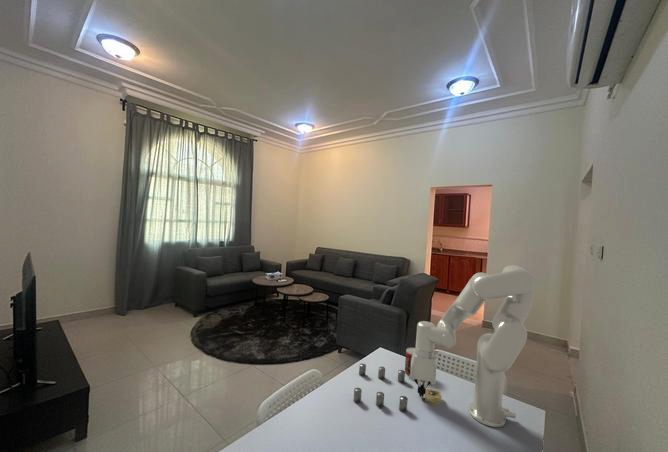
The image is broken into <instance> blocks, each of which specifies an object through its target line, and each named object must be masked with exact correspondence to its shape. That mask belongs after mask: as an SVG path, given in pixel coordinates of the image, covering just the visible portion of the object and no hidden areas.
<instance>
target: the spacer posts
mask: <svg viewBox="0 0 668 452" xmlns="http://www.w3.org/2000/svg"><path fill="white" fill-rule="evenodd" d="M358 367H359V368H358V369H359V370H358V375H359V376H360V377H365V376H366V371H367V368H366V367H367V364H366V363H359V366H358ZM385 375H386V368H385V367H384V366H379V367H378V373H377V379H379V380H383V381H384V380H385V378H386V377H385ZM405 380H406V373H405V370H403V369H399V370H398V374H397V382H398V383H399V384H404V383H405ZM362 390H363V389H362V388H360V387H354V389H353V402H354V403H355V404H360V403H361V402H362V393H363V392H362ZM398 402H399V404H398V405H399V406H398V410H399V411H400V412H402V413H407V411H408V397H407V396H405V395H401V396H399V401H398ZM384 404H385V393H384V392H382V391H377V392H376V397H375V406H376V407H377V408H380V409H382V408H384V406H385V405H384Z"/></svg>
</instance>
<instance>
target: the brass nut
mask: <svg viewBox="0 0 668 452" xmlns="http://www.w3.org/2000/svg"><path fill="white" fill-rule="evenodd" d="M424 399H425V401H426V402H428V403H429V404H432V405H433V406H435V405H440V404H442V394H441V391H439V390H436V389H435V388H433V387H431V388H430V387H429V388H426V392H425V394H424Z"/></svg>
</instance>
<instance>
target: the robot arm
mask: <svg viewBox="0 0 668 452" xmlns="http://www.w3.org/2000/svg"><path fill="white" fill-rule="evenodd" d="M535 282H536V281H535V278H534V276H533V274H532V273H531V272H530V271H528V270H527V269H525V268H524V267H521V266H519V265H516V264H511V265H507V266H505V267H504V268H503V269H502V271H501V272H498V273H495V274H494V273H493V274H488V273H486V272H479V271H478V272H477V273H475V274H473V275H472V277H470V279H469V280H468V282H467V283H466V285H465V287H464V288H463V289H462V290H461V292H460V293H459V295H458V296H457V298H456V299H455V300H454V302H453V303H452V304H451V305H450V306H449V307H448V309H446V311H445V313H444V314H443V315H442V317H441V318H440V320H439V321H438V323H437V325H435V324H434V323H433V322H430V321H425V320H421V321H419V322H417V325H416V336H415V337H416V339H415V347H414V348H415V352H413V355H412V359H411V366H410V376H409V375H408V376H409V377H408V379H409V380H410V381H413V382H415V384H416V385H417V393H418V396H419V398H425V392H426V389H428V387H429V386H430V385H436V384H437V381H436V379H437V360H436V356H438V355H439V352H438V351H437V350H435V347H436V346H435V345H437V346H439V347H441V348H446V349H450V348H452V347H454V346H455V345H456V343H457V335H456V332H457V331H458V329H459V327H460V326H461V324H463V322H464V321H465V320H467V318H470V317H473V316H475V315H476V314H477V313H478V311H479V310H480V309H481V307H482V305H483V304H484V303H485V301H486V300H493V299H495V300H496V299H501V298H504V300H503V303H502V304H501V306H500V307H499V308H498V310H497V312H496V314H495V315H494V317H493V319H492V321H491V322H492V324H491V325H492V327H493V330H494V331H493V333H490V332H489V333H484V334H482V335H481V336H480V337H478V341H477V344H476V345H477V346H476V367H475V379H474V380H475V382H474V391H473V392H474V395H473V402H472V403H470V404H469V405H468V412H469V414H470V415H471V417H472V418H474V419H475V420H476V421H478V422H479V423H481V424H483V425H486V426H489V427H491V428H493V427H494V428H502V427H504V426H505V424H506V418H510V419H516V418H517V417H516V413H515V412H514V411H513V412H512V411H510V409H509V408H507V407H503V405H502V404H503V396H504V385H505V384H504V383H505V376H506V375H505V373H506V371H508V370H509V369H510V368H511V367H512V366H513V364H514V362H515V361H516V360H517V357H518V356H519V355H520V353H521V351H522V350H523V348H524V346H525V345H526V342H527V339H528V330H527V328H526V326H525V325H524V323H525V321H526V319H527V317H528V315H529V313H530V312H531V309H532V308H533V305H534V302H535V290H534V286H535ZM421 381H422V382H421Z"/></svg>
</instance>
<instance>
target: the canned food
mask: <svg viewBox="0 0 668 452" xmlns="http://www.w3.org/2000/svg"><path fill="white" fill-rule="evenodd" d="M413 352H415V347H407V348H406V350H405V361H404V362H405V364H404V371H405V375H408V376H410V366H411V359H412V355H413Z"/></svg>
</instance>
